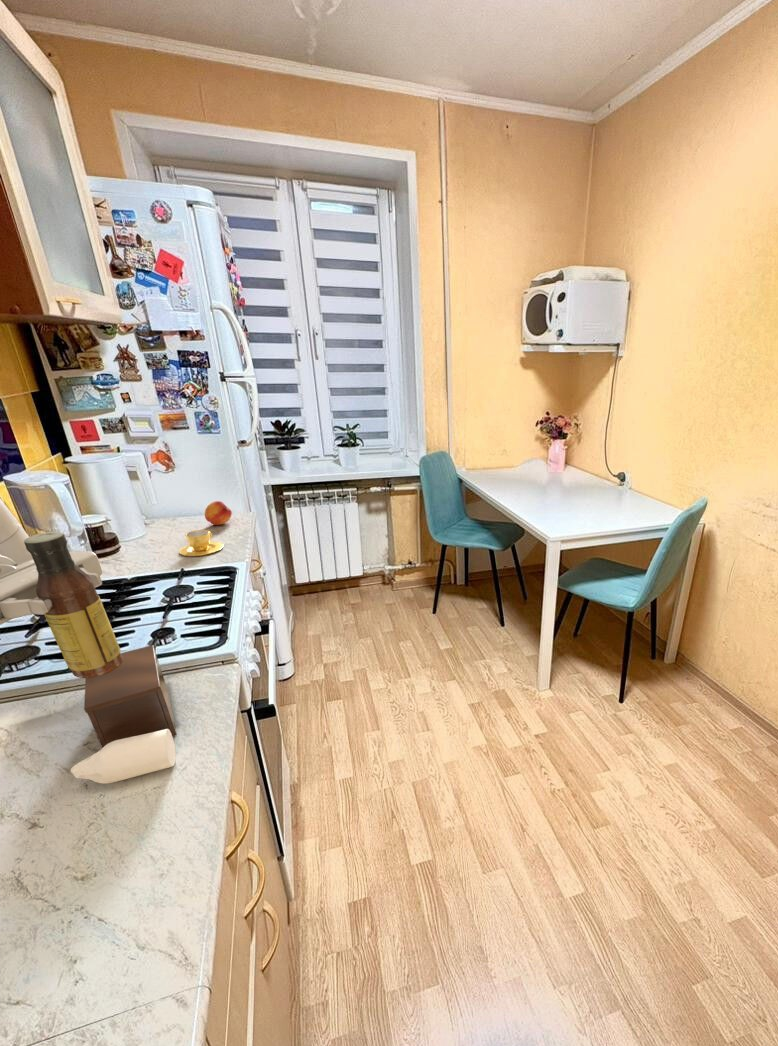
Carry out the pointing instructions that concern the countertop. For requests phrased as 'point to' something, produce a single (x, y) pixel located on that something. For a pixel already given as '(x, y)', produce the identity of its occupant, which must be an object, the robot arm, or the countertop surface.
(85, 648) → the sauce bottle
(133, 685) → the bread box lid
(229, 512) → the fruit
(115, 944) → the countertop surface
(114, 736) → the bread box
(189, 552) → the cup
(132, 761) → the cream bottle
